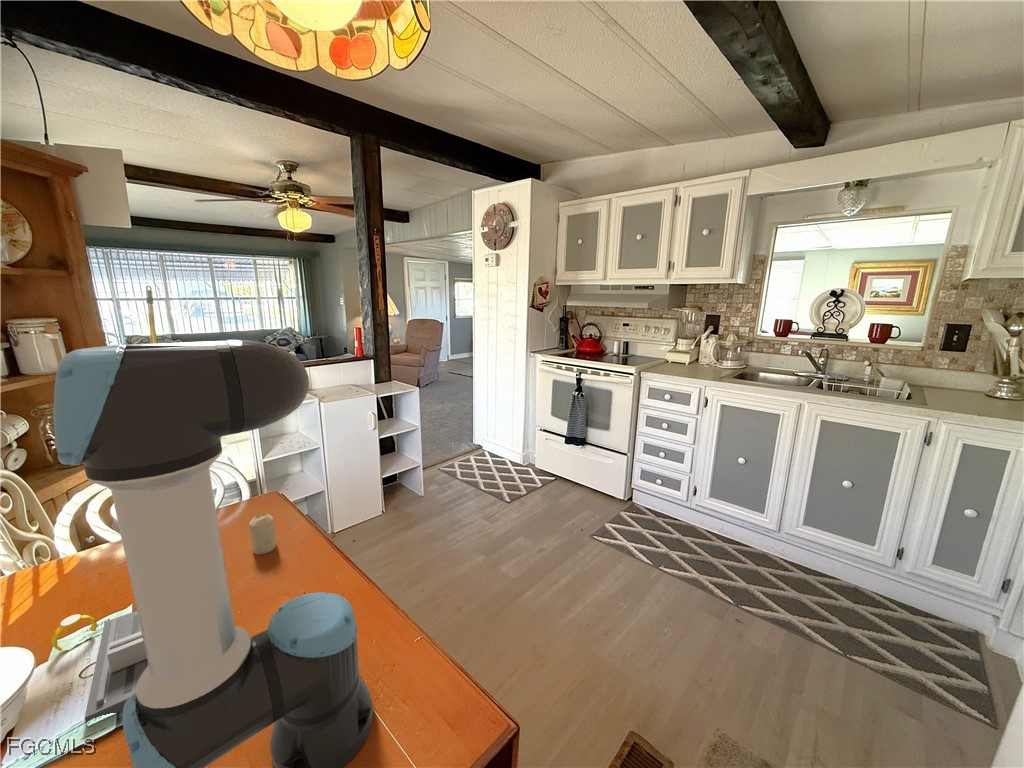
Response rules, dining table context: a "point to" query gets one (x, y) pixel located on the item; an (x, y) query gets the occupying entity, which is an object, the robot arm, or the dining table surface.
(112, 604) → the dining table surface
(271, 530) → the candle
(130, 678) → the console board
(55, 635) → the watch
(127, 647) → the grey cap
